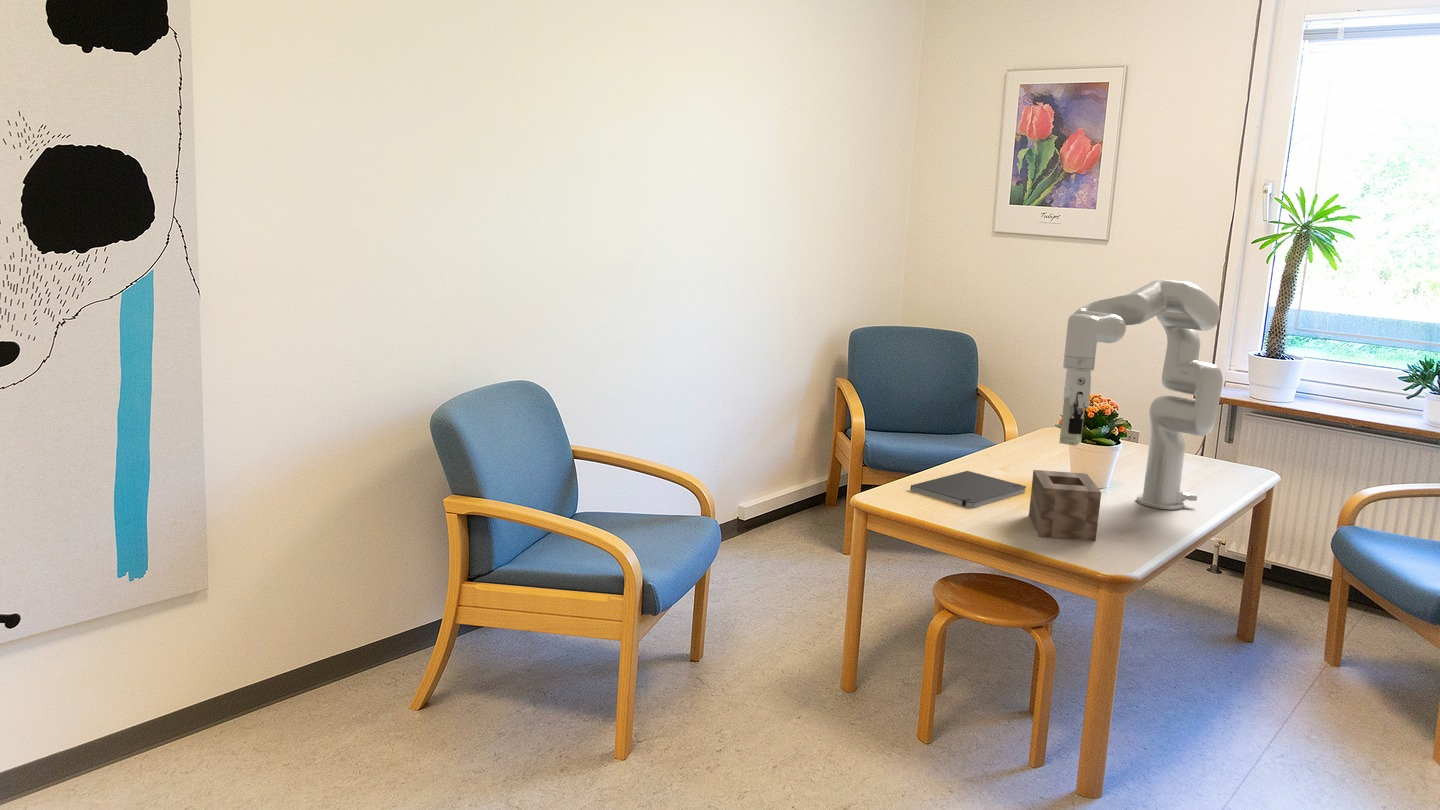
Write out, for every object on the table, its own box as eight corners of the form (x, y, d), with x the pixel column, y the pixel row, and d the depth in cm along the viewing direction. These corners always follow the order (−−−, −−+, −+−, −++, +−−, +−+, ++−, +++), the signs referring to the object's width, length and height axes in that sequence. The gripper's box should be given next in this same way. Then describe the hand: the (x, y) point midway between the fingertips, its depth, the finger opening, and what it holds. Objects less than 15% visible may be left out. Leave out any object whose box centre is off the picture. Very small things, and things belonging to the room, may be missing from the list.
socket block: (1081, 519, 280) (1086, 473, 277) (1095, 541, 262) (1101, 492, 260) (1028, 515, 282) (1033, 469, 279) (1039, 536, 264) (1044, 488, 261)
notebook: (966, 477, 320) (910, 492, 302) (967, 470, 320) (910, 484, 301) (1027, 493, 304) (971, 510, 286) (1028, 486, 304) (972, 502, 286)
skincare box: (1075, 446, 263) (1081, 399, 261) (1058, 443, 266) (1063, 397, 263) (1081, 441, 269) (1087, 396, 266) (1064, 439, 271) (1069, 393, 268)
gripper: (1101, 369, 254) (1093, 439, 258) (1087, 358, 271) (1080, 424, 274) (1070, 367, 255) (1062, 437, 259) (1057, 356, 272) (1051, 422, 275)
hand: (1071, 429), depth 266 cm, fingers closed on skincare box, 7 cm apart
